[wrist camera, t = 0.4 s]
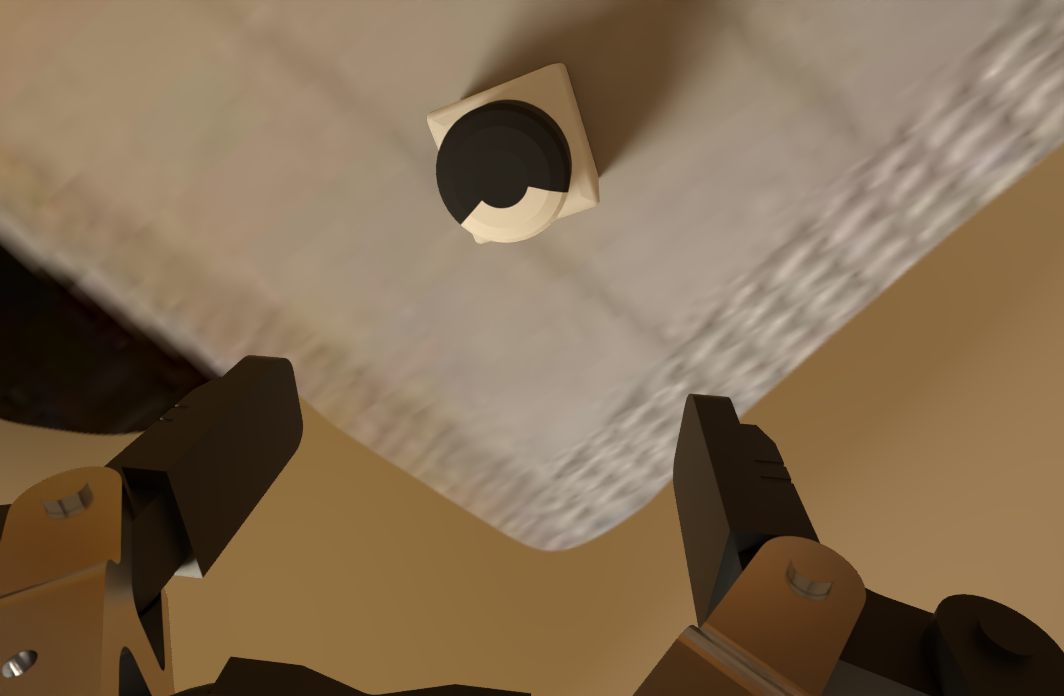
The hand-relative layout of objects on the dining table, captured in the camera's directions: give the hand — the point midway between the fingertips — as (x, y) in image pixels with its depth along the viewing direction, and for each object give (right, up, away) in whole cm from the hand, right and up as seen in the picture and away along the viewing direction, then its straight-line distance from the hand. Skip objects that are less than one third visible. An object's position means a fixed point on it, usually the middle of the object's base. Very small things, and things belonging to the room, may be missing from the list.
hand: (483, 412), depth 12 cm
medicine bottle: (+1, +14, +24) cm, 28 cm away
